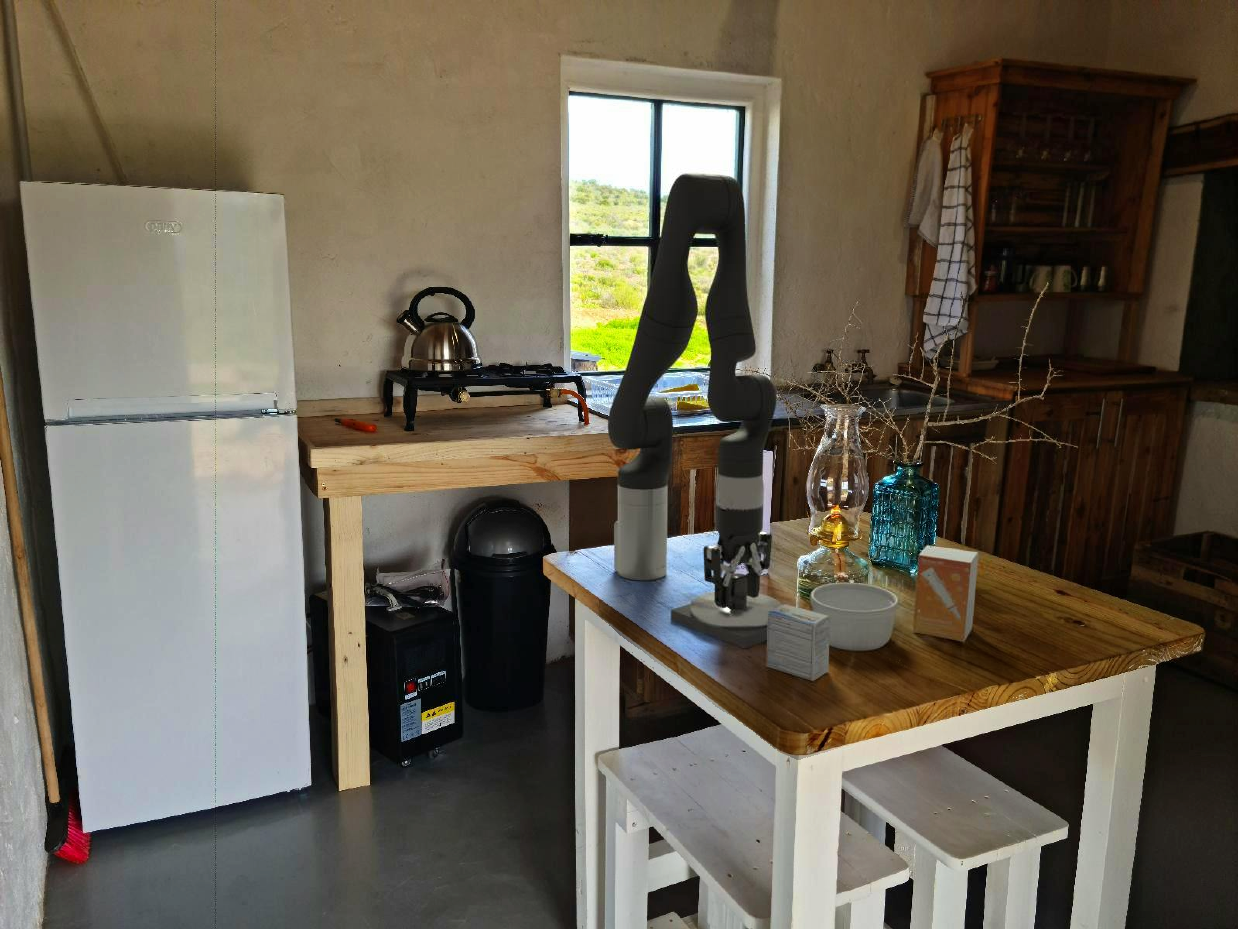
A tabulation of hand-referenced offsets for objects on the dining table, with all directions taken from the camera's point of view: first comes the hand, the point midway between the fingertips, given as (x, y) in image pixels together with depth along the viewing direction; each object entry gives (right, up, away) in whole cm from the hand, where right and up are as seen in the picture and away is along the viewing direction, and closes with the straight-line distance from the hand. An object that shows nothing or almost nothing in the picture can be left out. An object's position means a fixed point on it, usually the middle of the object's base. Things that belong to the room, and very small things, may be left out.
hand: (737, 601), depth 157 cm
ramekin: (+17, -5, -5) cm, 19 cm away
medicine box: (+7, -8, -17) cm, 20 cm away
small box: (+32, -5, -2) cm, 33 cm away
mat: (0, -4, +1) cm, 4 cm away
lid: (0, -2, 0) cm, 2 cm away
